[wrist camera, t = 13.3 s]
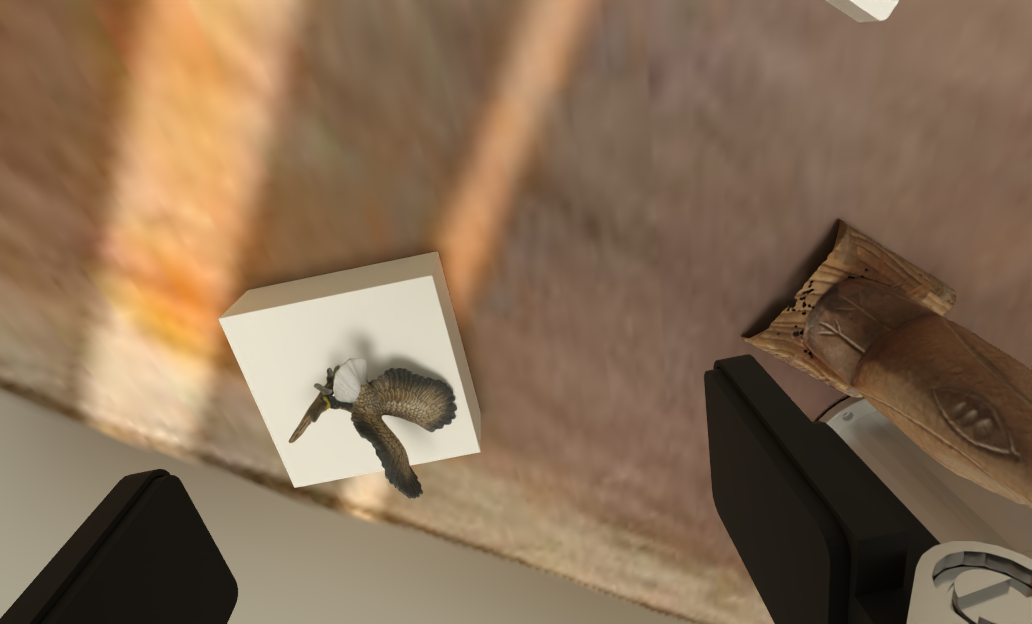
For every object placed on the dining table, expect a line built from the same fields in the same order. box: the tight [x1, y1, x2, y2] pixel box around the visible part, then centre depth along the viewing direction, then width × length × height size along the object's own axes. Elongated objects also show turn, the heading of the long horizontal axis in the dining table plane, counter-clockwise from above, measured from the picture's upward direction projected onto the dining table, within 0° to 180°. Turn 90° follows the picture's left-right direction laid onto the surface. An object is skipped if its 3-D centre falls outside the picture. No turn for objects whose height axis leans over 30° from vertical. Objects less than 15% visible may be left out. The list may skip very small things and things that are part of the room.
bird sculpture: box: [742, 219, 1032, 509], centre depth 30 cm, size 11×12×32 cm
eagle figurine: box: [288, 358, 457, 499], centre depth 37 cm, size 8×7×9 cm
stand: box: [219, 251, 481, 488], centre depth 42 cm, size 14×14×5 cm
